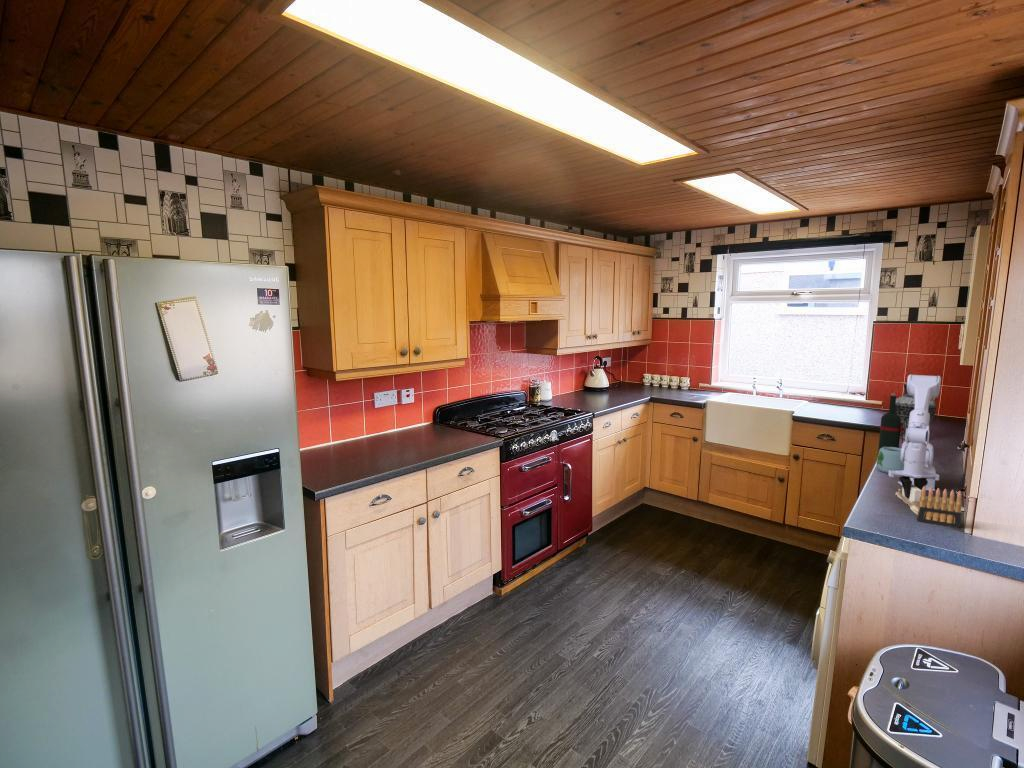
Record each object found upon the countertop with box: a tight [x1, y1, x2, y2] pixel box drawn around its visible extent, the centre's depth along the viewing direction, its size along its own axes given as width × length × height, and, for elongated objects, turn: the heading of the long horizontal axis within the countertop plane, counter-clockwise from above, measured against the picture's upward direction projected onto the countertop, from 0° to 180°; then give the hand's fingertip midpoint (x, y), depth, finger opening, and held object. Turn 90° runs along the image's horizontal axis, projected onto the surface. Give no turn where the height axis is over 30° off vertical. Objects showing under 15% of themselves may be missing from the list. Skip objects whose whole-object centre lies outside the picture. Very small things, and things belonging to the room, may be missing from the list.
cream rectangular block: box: [901, 484, 922, 502], centre depth 183 cm, size 2×10×6 cm, turn 162°
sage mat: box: [926, 495, 964, 511], centre depth 181 cm, size 10×13×1 cm
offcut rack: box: [895, 488, 933, 516], centre depth 181 cm, size 6×20×3 cm, turn 163°
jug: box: [895, 382, 940, 440], centre depth 272 cm, size 21×19×30 cm
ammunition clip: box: [916, 486, 963, 528], centre depth 164 cm, size 11×2×12 cm, turn 58°
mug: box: [876, 447, 904, 474], centre depth 220 cm, size 15×11×10 cm
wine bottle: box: [877, 392, 904, 455], centre depth 240 cm, size 8×10×30 cm
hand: (911, 497), depth 184 cm, fingers closed on cream rectangular block, 2 cm apart
